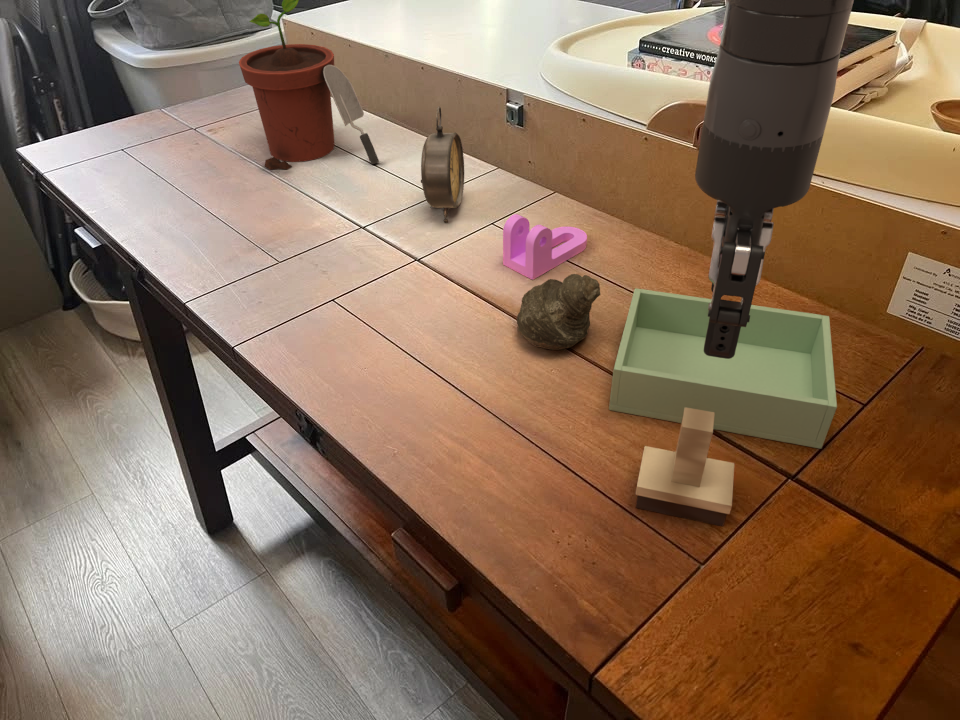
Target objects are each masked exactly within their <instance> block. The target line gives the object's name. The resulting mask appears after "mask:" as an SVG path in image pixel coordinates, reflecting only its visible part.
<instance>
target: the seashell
mask: <svg viewBox="0 0 960 720" xmlns="http://www.w3.org/2000/svg"><path fill="white" fill-rule="evenodd" d="M600 296H601V285H600V283H599V281H598V280H597V279H595V278H593V277H591V276H589V275H588V274H587V275H586V274H584V275H583V276H582V275H580V274H577V273H570V275H568V276H566V277H565V278H563V280H562V281H561V280H558V279H553V278H548V279H547V280H545V281H544V282H543V283H541V284H538V285H535V286H533V287H532V288H531V289H529V290H527V292H526V293H524V294H523V296H522V298H521V305H520V309H519V312H518V313H517V314H516V324H517V332H519V333H520V334H521V336H523V338H524V339H525V340H526V341H528V342H529V343H530V344H531V345H533V346H535V347H537V348H543V349H546V350H553V351H558V350H565V349H569V348H572V347H574V346H575V345H576V344H577V343H580V342H581V341H582V340H583V339H585V338H586V336H587V335H588V332H589V329H590V326H591V320H590V312H591V310H592V306H593V303H594V302H595V301H596V299H598V298H599V297H600Z"/></svg>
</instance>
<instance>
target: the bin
mask: <svg viewBox="0 0 960 720" xmlns="http://www.w3.org/2000/svg"><path fill="white" fill-rule="evenodd" d="M711 300H712V298H707V297H700V296H693V295H686V294H678V293H672V292H664V291H658V290H651V289H645V288H644V289H643V288H636V287H635V288H634V290H633V294H632V297H631V302H630V305H629V309H628V313H627V316H626V320H625V324H624V328H623V332H622V335H621V339H620V343H619V347H618V351H617V355H616V357H615V358H616V359H615V361H614V366H613V369H612V380H611V388H610V395H609V405H608V410H609V411H611V412H612V411H613V412H617V413H618V412H619V413H623V414H628V415H634V416H641V417H646V418H650V419H656V420H662V421H667V422H673V423H679V424H681V423H682V418H683V413H684V408H685V407H687V408H692V409H698V410H703V411H709V412H714V413H715V416H714V426H713V430H717V431H721V432H726V433H733V434H737V435H742V436H749V437H754V438H760V439H766V440H769V441H770V440H771V441H776V442H780V443H781V442H782V443H787V444H791V445H799V446H804V447H807V448H808V447H809V448H815V449H820V450H822V449H823V446H824V443H825V441H826V438H827V435H828V433H829V431H830V427H831V424H832V422H833V419H834V416H835V414H836V411H837V409H838V403H837V391H836V377H835V369H834V357H833V355H834V354H833V346H832V344H833V343H832V334H831V322H830V321H831V320H830V315H824V314H818V313H811V312H805V311H798V310H790V309H783V308H777V307H769V306H764V305H763V306H762V305H754V304H751V308H750V313H749V315H750V321H749V322H747V325H746V327H741V329H740V334H739V338H738V342H737V347H736V351H735V355H734V357H732V358H730V359H725V358H719V357H712V356H708V355H706V354H705V353H704V344H705V339H706V333H707V328H708V323H709V318H710V317H708V311H709V310H708V306H709V303H711Z"/></svg>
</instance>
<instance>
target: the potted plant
mask: <svg viewBox="0 0 960 720" xmlns="http://www.w3.org/2000/svg"><path fill="white" fill-rule="evenodd" d="M299 1H300V0H282V2H281V9H282V10H283V11H282V12H281V13H280V14H279V15H278V17H277V19H276V21H270V17H269V16H268V15H267V14H266V13H258V14H256V16H254V17H253V18H252V19H250V20H249V21H248V22H249V23H252V24H255V25H257V26H259V27H264V28H267V27H269V26H270V25H271V24H272V25H275V26H277V29H278V33H279V37H280V38H279V39H280V41H281V45H279V44H278V45H273V46H268V47H263V48H259V49H256V50H253V51H251V52H248V53H246V54H245V55H244V56H242V57H241V58H240V59H239V60H238V66H239V68H240V71H241V74H242V77H243V80H244V83H245V84H247V85H248V86H250V87H252V92H253V95H254V98H255V101H256V105H257V108H258V113H259V116H260V121H261V124H262V127H263V131H264V135H265V138H266V142H267V145H268V149H269V152H270V155H271V156H272V157H270V158H266V159H265V162H264V167H265V168H266V169H267V170H270V171H272V170H284V171H285V170H289V169H291V168H292V165H291V164H290V163H288V162H292V163H296V162H297V163H301V162H308V161H314V160H317V159H320V158H323V157H325V156H327V155H329V154H331V152H332V151H333V150H334V149H335V144H336V143H335V133H334V132H335V131H334V121H333V107H332V100H333V102H334V104H335V106H336V108H337V111H338V113H339V116H340V117H341V120H342V122H343V124H344V126H345V127H347V126H348V125H349V124H350V127H352V128H353V129H355V130H358V131H359V132H360V134H361V135H359V140H360V141H361V144H362V146H363V148H364V151H365V153H366V156H367V158H368V160H369V163H370V165H374V164H377V163H379V161H380V160H379V158H378V157H379V156H378V155H377V153H376V150H375V148H374V145H373V142H372V140H371V138H370V136H369V134H368V132H366V133H365V131H364V130H363V128H361V127H360V126H358V125H355V124H354V122H355V121H358V120H359V119H361V118H363V117H364V115H365V111H364V109H363V107H362V105H361V103H360V100H359V97H358V95H357V93H356V90H355V88H354V86H353V83H352V82H351V80H350V79H349V78H348V77H347V76H346V74H345V73H344V72H343V71H342V70H341V69H340V68H339V67H338V66H336V65H335V54H334V52H333V51H332V50H331V49H329V48H327V47H325V46H322V45H321V46H320V45H317V44H306V43H294V44H293V43H292V44H288V43H287V44H286V41H285V37H284V35H283V31H282V27H281V18H282V17H283V16H284V15H285V14H286V13H290V12H292V11H293V10H295V8H297V5H298V3H299Z"/></svg>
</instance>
